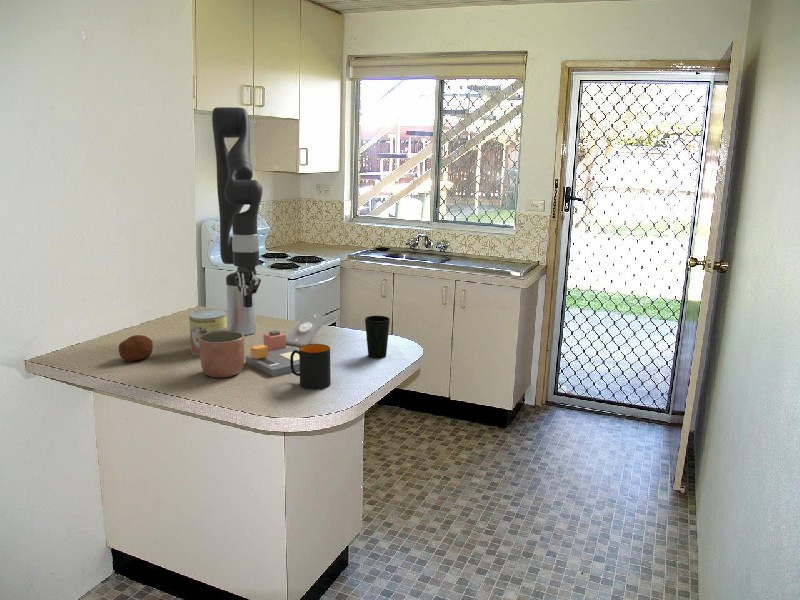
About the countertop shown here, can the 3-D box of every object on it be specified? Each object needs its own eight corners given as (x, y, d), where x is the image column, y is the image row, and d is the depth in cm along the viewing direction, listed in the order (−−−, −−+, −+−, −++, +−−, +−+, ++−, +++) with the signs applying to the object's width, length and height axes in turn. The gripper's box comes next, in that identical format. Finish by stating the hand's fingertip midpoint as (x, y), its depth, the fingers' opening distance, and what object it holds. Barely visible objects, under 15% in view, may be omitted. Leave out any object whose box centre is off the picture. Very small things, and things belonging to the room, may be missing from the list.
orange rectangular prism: (250, 356, 199) (250, 346, 198) (263, 354, 201) (262, 344, 201) (255, 359, 196) (255, 349, 196) (268, 356, 199) (267, 346, 198)
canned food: (183, 354, 208) (181, 316, 206) (203, 344, 219) (201, 308, 216) (216, 357, 205) (214, 319, 203) (234, 347, 216) (233, 311, 213)
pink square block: (264, 352, 211) (263, 331, 210) (277, 349, 214) (277, 328, 213) (272, 356, 208) (271, 335, 206) (286, 353, 211) (285, 332, 209)
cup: (359, 355, 209) (359, 318, 206) (377, 350, 214) (377, 314, 212) (377, 361, 204) (377, 323, 201) (394, 356, 209) (395, 318, 206)
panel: (245, 362, 201) (245, 355, 200) (292, 352, 211) (291, 346, 210) (272, 376, 189) (272, 369, 188) (320, 365, 199) (320, 358, 199)
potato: (112, 361, 200) (110, 337, 198) (141, 352, 209) (139, 329, 208) (131, 366, 196) (129, 341, 194) (160, 357, 205) (159, 333, 204)
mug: (299, 375, 190) (298, 340, 188) (336, 382, 185) (335, 346, 183) (282, 384, 183) (281, 348, 180) (320, 391, 178) (319, 354, 176)
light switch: (282, 339, 220) (305, 310, 229) (288, 352, 223) (310, 323, 233) (303, 343, 216) (326, 313, 225) (309, 356, 219) (331, 326, 229)
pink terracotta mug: (223, 363, 200) (221, 328, 197) (254, 371, 194) (253, 334, 191) (190, 375, 189) (188, 338, 187) (223, 383, 183) (221, 345, 181)
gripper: (223, 247, 199) (226, 304, 203) (244, 253, 189) (247, 313, 193) (246, 245, 204) (248, 301, 208) (268, 250, 194) (270, 309, 198)
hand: (247, 306), depth 200 cm, fingers closed
